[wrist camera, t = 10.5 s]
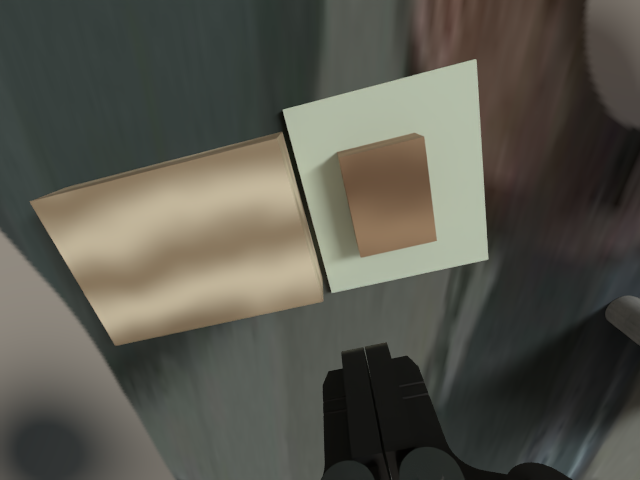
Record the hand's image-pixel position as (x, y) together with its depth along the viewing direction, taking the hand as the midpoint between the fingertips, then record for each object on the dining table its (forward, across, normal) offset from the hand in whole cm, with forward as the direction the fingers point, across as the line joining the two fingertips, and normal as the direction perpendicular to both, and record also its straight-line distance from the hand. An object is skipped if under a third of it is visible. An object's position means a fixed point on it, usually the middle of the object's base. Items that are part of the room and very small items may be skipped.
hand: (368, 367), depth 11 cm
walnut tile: (+17, -4, 0) cm, 18 cm away
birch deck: (+19, +12, 0) cm, 22 cm away
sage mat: (+19, -5, 0) cm, 19 cm away
